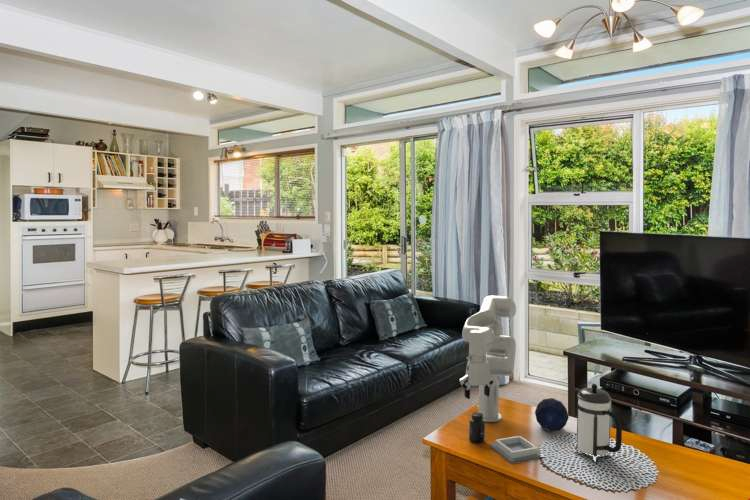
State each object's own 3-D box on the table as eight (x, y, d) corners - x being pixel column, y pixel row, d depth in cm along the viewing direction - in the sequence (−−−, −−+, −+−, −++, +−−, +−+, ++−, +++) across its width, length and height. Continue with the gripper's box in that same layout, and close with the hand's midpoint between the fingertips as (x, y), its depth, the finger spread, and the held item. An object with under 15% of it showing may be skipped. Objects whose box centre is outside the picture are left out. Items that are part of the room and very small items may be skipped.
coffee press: (573, 460, 202) (575, 388, 201) (573, 444, 217) (574, 376, 215) (620, 468, 196) (623, 393, 194) (617, 451, 211) (619, 381, 209)
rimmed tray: (489, 446, 215) (489, 438, 215) (520, 441, 220) (521, 433, 220) (511, 463, 200) (511, 455, 200) (544, 457, 205) (544, 449, 205)
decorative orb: (580, 421, 229) (563, 390, 235) (560, 429, 220) (543, 396, 227) (558, 431, 238) (543, 401, 245) (538, 439, 230) (523, 407, 237)
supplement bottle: (484, 444, 217) (485, 417, 216) (468, 443, 219) (469, 416, 218) (484, 438, 224) (484, 411, 223) (469, 436, 225) (469, 410, 225)
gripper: (464, 362, 213) (463, 401, 213) (499, 358, 218) (498, 397, 219) (455, 357, 220) (455, 396, 220) (490, 354, 225) (489, 392, 226)
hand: (477, 396), depth 220 cm, fingers open, 9 cm apart
